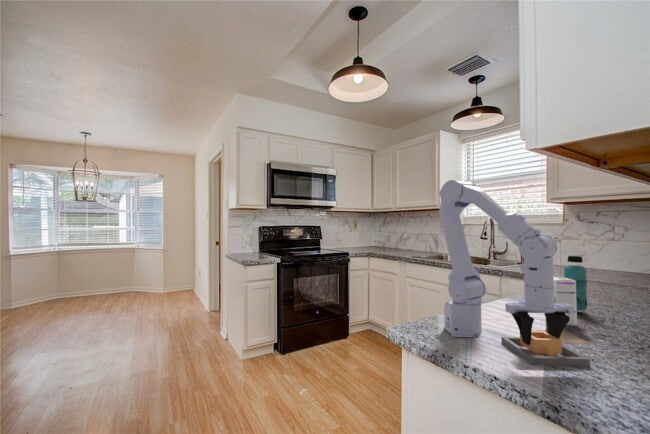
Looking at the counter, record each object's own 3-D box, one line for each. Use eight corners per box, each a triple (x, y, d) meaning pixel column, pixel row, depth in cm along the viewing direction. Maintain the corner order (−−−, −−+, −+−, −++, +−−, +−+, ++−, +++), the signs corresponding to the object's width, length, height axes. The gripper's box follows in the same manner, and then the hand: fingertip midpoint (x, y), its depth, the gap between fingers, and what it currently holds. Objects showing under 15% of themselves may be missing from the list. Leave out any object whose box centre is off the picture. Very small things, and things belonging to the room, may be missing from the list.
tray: (532, 369, 64) (531, 357, 64) (501, 346, 76) (501, 336, 76) (590, 370, 63) (589, 359, 63) (550, 347, 75) (549, 337, 75)
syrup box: (578, 329, 89) (577, 280, 89) (555, 327, 90) (555, 279, 90) (566, 322, 94) (566, 276, 95) (545, 321, 95) (545, 276, 96)
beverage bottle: (559, 310, 107) (558, 255, 108) (572, 309, 109) (571, 254, 110) (579, 315, 101) (578, 257, 102) (592, 314, 103) (591, 256, 104)
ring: (519, 342, 73) (519, 330, 73) (544, 343, 73) (544, 331, 73) (539, 356, 66) (539, 342, 66) (566, 356, 66) (566, 342, 66)
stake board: (550, 346, 76) (550, 321, 76) (528, 333, 85) (527, 311, 85) (591, 347, 75) (590, 322, 75) (564, 334, 84) (564, 312, 84)
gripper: (517, 289, 67) (518, 350, 67) (584, 290, 66) (585, 351, 66) (500, 283, 74) (501, 338, 74) (560, 283, 73) (561, 339, 73)
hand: (539, 343), depth 70 cm, fingers closed on ring, 5 cm apart
